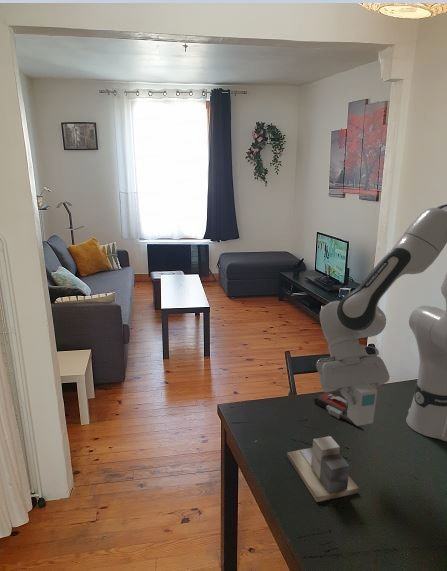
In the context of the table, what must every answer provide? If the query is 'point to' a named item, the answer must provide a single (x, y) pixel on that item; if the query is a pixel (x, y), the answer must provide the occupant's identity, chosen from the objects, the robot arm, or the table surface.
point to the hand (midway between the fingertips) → (363, 403)
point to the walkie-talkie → (334, 405)
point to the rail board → (315, 481)
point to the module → (362, 404)
